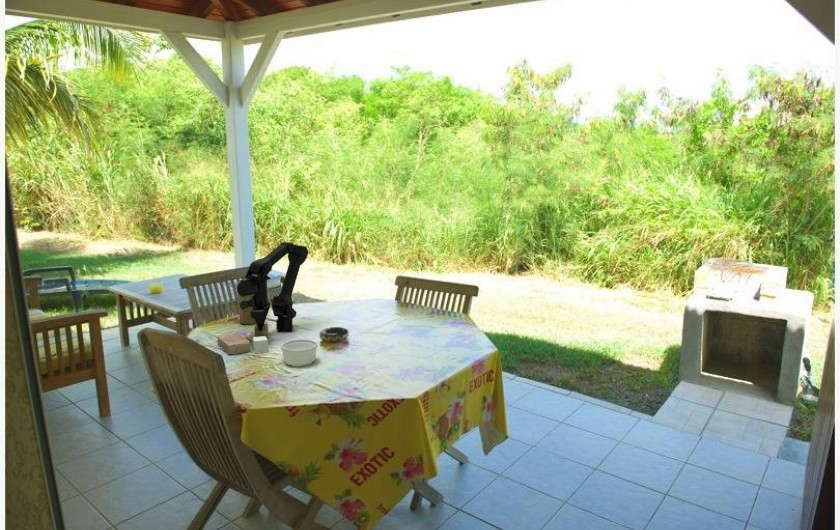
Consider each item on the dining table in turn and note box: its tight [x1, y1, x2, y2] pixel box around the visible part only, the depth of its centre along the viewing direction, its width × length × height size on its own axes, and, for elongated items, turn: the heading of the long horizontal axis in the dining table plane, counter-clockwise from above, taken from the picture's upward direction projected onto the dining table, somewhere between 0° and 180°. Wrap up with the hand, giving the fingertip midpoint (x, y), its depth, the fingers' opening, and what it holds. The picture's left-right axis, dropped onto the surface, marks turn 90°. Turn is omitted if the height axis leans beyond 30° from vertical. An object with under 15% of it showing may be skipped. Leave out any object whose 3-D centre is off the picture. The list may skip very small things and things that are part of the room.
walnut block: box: [253, 323, 269, 340], centre depth 237 cm, size 5×5×6 cm
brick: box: [216, 331, 251, 355], centre depth 225 cm, size 17×8×5 cm, turn 36°
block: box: [237, 280, 256, 325], centre depth 259 cm, size 11×8×20 cm
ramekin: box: [280, 338, 318, 367], centre depth 212 cm, size 13×13×7 cm
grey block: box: [252, 336, 269, 354], centre depth 223 cm, size 5×5×5 cm
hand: (261, 327), depth 236 cm, fingers open, 9 cm apart
